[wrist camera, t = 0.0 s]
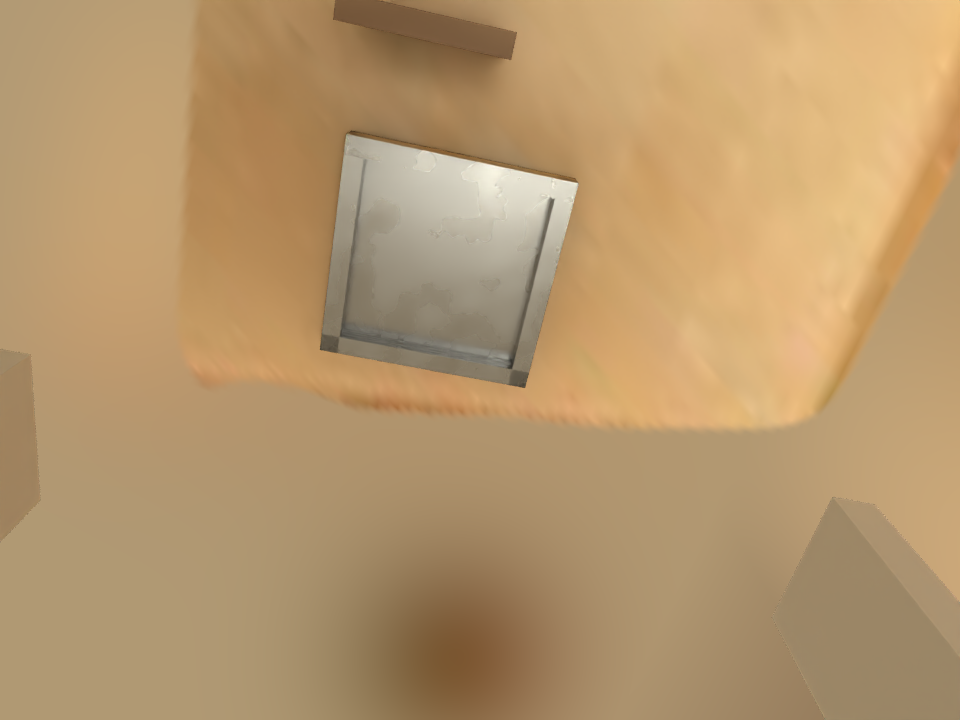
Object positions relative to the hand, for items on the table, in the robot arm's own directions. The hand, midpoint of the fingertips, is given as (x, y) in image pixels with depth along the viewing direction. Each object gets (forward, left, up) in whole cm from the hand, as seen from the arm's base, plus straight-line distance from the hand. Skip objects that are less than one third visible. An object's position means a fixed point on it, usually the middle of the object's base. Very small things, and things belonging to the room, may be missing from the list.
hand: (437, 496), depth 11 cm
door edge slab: (-7, -3, -28) cm, 29 cm away
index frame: (+4, 0, -28) cm, 28 cm away
